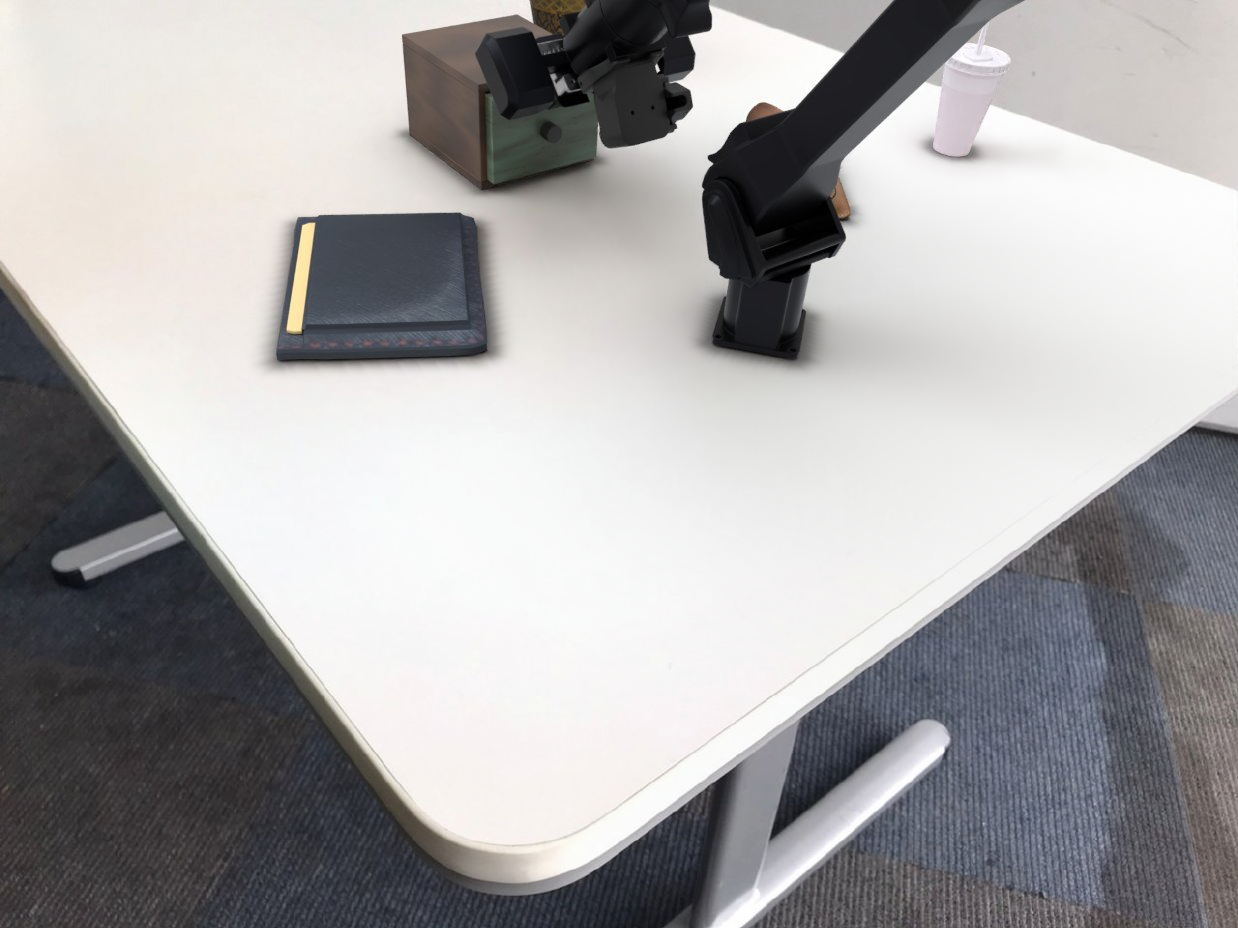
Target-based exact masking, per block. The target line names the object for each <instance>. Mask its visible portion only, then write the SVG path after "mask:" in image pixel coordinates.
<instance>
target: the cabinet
mask: <svg viewBox="0 0 1238 928" xmlns="http://www.w3.org/2000/svg"><path fill="white" fill-rule="evenodd" d="M519 27H525V28H526V29H528V30H530V31H532V32H533V35H534V37H535V39H536V38H538V37H543V36H548V35H553V34H551V33H550V32H548V31H546V30H544V29H542V28H541V27H539V26H537V25H535V24H534V23H533V21H530V20H528V19H526V18H524V17H523V16H521V15H519V14H510V15H505V16H501V17H494V18H488V19H483V20H477V21H471V22H466V23H460V24H454V25H453V24H452V25H449V26H441V27H437V28H430V29H425V30H420V31H419V30H418V31H414V32H409V33H408V32H407V33H403V34H401V42H402V54H403V55H402V56H403V67H404V80H405V81H404V83H405V93H406V94H405V96H406V106H407V118H408V119H407V120H408V131H409V132H408V133H409V136H411V137H412V138H413V139H414V140H416V141H417V142H419V143H420V144H421V145H423V146H424V147H425V148H426V149H428V150H429V151H430V152H431V153H433V154H434V155H435V156H437V157H438V158H439V159H441V161H443V162H445V163H446V164H447V165H449V166H450V167H451V168H452V169H454V170H455V171H456V172H457V173H459V174H460V175H462V177H464V178H465V179H467V180H468V181H469V182H470V183H472V184H473V185H475V186H476V187H477V188H478V189H479V190H481V191H482V190H486V189H491V188H494V187H497V186H502V185H505V184H508V183H513V182H516V181H520V180H524V179H527V178H531V177H535V176H538V175H542V174H546V173H550V172H553V171H558V170H562V169H565V168H569V167H573V166H575V165H580V164H584V163H588V162H591V161H594V160H595V158H592V159H588V160H584V161H580V162H577V163H573V164H569V165H565V166H561V167H558V168H554V169H550V170H546V171H543V172H539V173H535V174H531V175H527V176H524V177H520V178H516V179H512V180H509V181H505V182H501V183H497V184H493V183H491V182H490V181H489V180H487V156H486V118H485V94H486V92H489V91H490V89H489V87H488V85H487V82H486V80H485V77H484V75H483V73H482V70H481V68H480V65H479V63H478V61H477V58H476V56H475V51H476V49H477V47H478V45H479V43H480V42H481V40H482V39H483V37H484V36H485V34H486V33H491V32H497V31H502V30H508V29H513V28H519Z"/></svg>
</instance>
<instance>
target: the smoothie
mask: <svg viewBox="0 0 1238 928" xmlns="http://www.w3.org/2000/svg"><path fill="white" fill-rule="evenodd" d="M990 24H991V20H990V21H989V22H988V23H987V24H986V25H985V26H984V27H982V28H981V29H980V34H979V37H978V41H977V43H973V42H967V43H966V44H964V45H963V46H962V47H961V48H960V49H959V50H958V51H957V52H956V53H955V54H954V55H953V56H952V57H951V58H950V59H949V60H948V61H946V62H945V63H944V68H943V73H942V75H943V76H942V81H941V88H940V95H939V101H938V107H937V116H936V121H935V127H934V134H933V135H934V136H933V143H932V148H933V150H935V151H936V152H937V153H939V154H941V155H944V156H949V157H953V158H954V157H956V158H958V157H959V158H961V157H965V156H967V155H969V153H970V151H971V149H972V147H973V144H974V142H975V140H976V138H977V136H978V133H979V131H980V129H981V126H982V124H983V122H984V119H985V117H986V115H987V113H988V110H989V109H990V105H991V103H992V101H993V99H994V97H995V94H996V92H997V91H998V89H999V87H1000V83H1001V81H1002V78H1003V77H1004V75H1005V74H1007V73H1008V72H1009V70H1010V65H1011V62H1012V59H1011V56H1010V55H1009V54H1007V53H1006V52H1005V51H1003V50H1001V49H999V48H996V47H993V46H990V45H987V44H985V40H986V38H987V34H988V30H989V26H990Z"/></svg>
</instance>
